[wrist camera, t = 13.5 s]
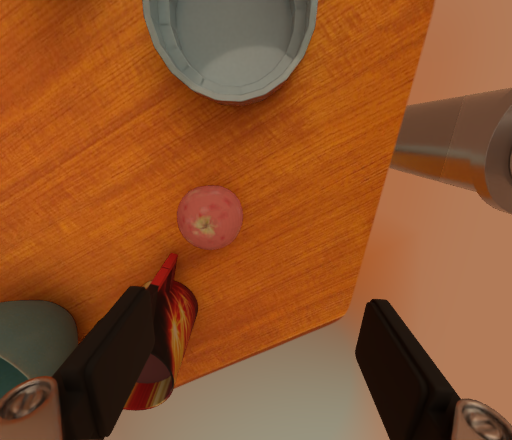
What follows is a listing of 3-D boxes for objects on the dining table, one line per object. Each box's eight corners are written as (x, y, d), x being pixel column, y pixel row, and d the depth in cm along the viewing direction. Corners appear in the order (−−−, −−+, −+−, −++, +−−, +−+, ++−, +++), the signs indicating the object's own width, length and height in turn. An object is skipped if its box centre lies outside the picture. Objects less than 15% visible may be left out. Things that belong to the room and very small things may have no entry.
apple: (186, 230, 34) (167, 258, 27) (188, 176, 32) (167, 190, 24) (241, 236, 35) (237, 265, 27) (246, 183, 32) (244, 199, 25)
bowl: (315, -62, 24) (330, -109, 20) (298, 109, 29) (306, 105, 25) (156, -74, 24) (132, -124, 19) (166, 102, 29) (149, 96, 24)
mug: (179, 247, 35) (143, 303, 24) (205, 326, 40) (185, 403, 28) (113, 260, 36) (48, 319, 24) (146, 335, 40) (104, 415, 29)
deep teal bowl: (-5, 357, 42) (-105, 445, 30) (-24, 261, 36) (-157, 324, 24) (107, 373, 43) (53, 462, 31) (107, 282, 37) (41, 352, 25)
